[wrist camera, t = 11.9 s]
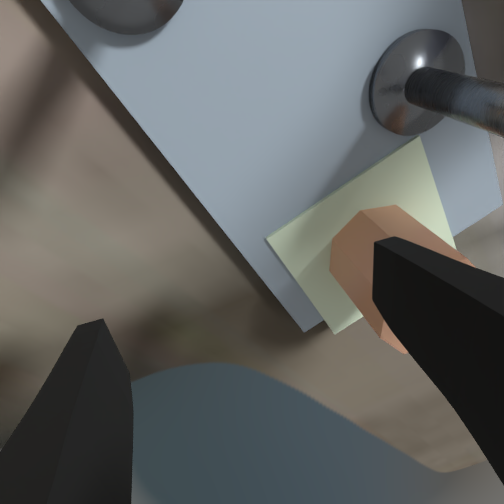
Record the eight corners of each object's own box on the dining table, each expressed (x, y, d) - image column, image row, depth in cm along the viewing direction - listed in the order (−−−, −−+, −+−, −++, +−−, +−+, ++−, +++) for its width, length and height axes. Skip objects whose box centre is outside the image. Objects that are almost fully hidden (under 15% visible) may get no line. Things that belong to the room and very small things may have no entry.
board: (-313, -454, 9) (-350, -492, 8) (227, -1004, 7) (238, -1102, 7) (299, 324, 26) (304, 332, 25) (492, 199, 24) (502, 204, 24)
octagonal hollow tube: (420, 200, 22) (497, 253, 17) (404, 276, 24) (467, 338, 20) (334, 214, 21) (392, 274, 16) (327, 291, 23) (375, 360, 19)
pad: (265, 237, 21) (266, 239, 20) (417, 134, 20) (419, 135, 20) (333, 332, 26) (334, 334, 25) (456, 253, 25) (458, 255, 25)
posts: (40, 4, 13) (-68, 11, 6) (58, -167, 11) (-69, -483, 4) (423, 143, 20) (602, 230, 13) (473, 50, 18) (720, 85, 11)
